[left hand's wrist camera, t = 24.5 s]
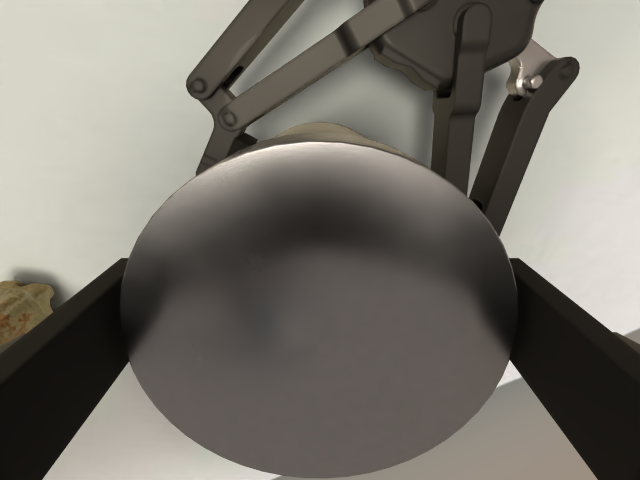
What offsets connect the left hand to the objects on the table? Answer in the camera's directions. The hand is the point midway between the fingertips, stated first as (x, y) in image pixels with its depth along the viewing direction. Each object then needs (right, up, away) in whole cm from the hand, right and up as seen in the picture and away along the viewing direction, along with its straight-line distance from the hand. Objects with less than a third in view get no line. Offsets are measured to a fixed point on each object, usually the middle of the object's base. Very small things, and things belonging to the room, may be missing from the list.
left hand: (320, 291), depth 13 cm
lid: (0, -1, -2) cm, 3 cm away
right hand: (-2, -1, +9) cm, 9 cm away
